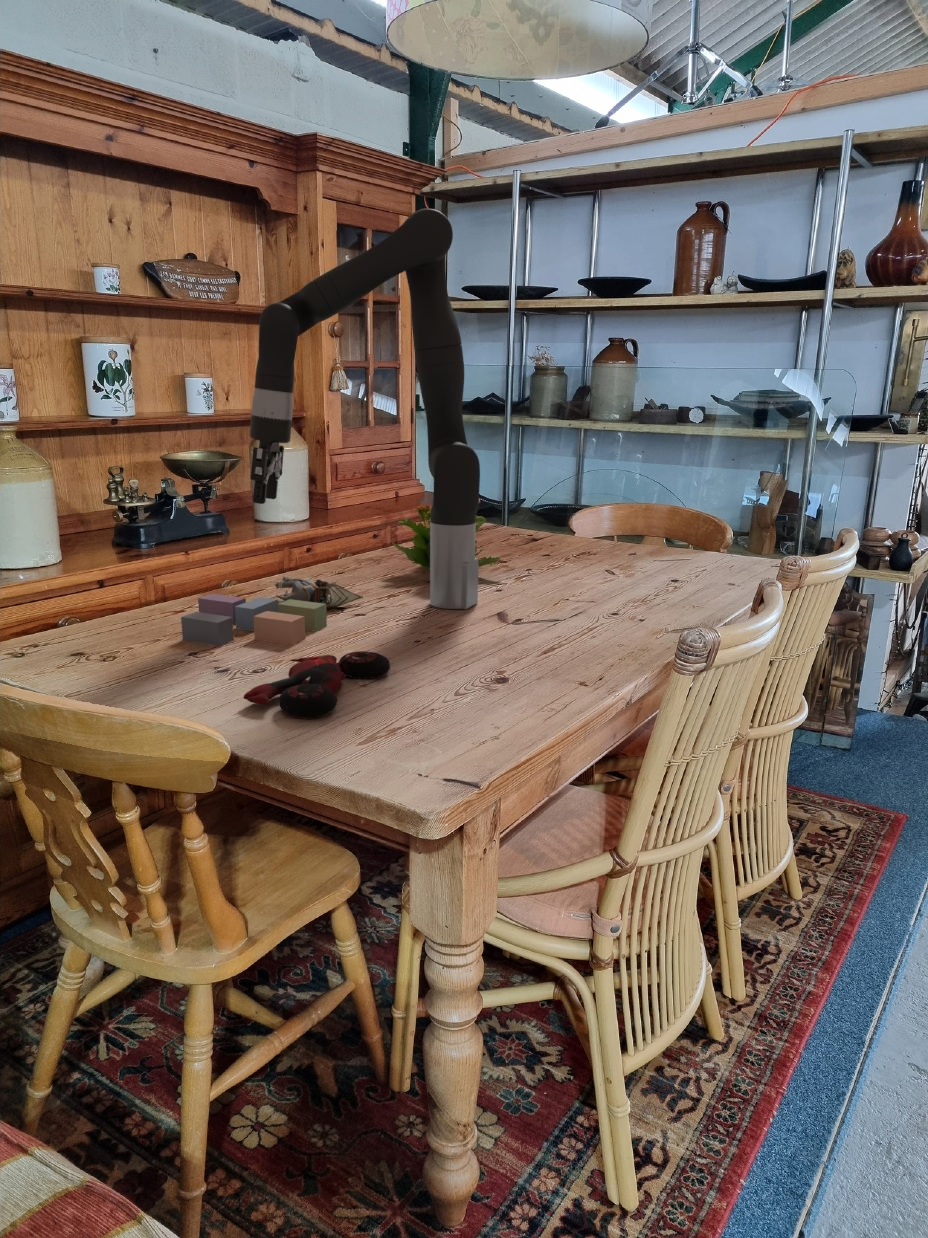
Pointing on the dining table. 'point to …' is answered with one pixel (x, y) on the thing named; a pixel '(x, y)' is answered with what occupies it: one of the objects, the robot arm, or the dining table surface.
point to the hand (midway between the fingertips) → (264, 500)
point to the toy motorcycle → (318, 682)
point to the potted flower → (422, 540)
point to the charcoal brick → (207, 628)
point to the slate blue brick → (253, 611)
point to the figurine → (316, 592)
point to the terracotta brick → (279, 627)
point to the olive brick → (306, 612)
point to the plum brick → (220, 605)
